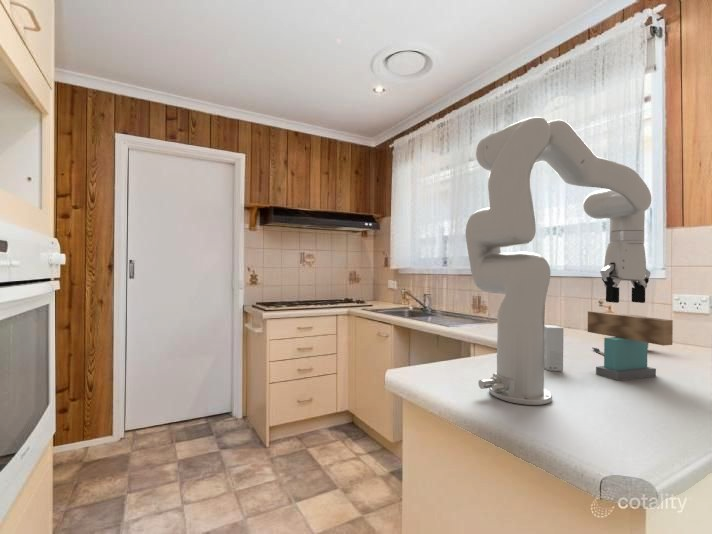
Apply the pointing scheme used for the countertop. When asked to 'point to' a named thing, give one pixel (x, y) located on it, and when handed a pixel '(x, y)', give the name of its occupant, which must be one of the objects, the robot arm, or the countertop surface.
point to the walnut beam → (631, 327)
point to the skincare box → (553, 348)
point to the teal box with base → (625, 359)
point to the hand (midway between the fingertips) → (625, 302)
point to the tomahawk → (598, 351)
